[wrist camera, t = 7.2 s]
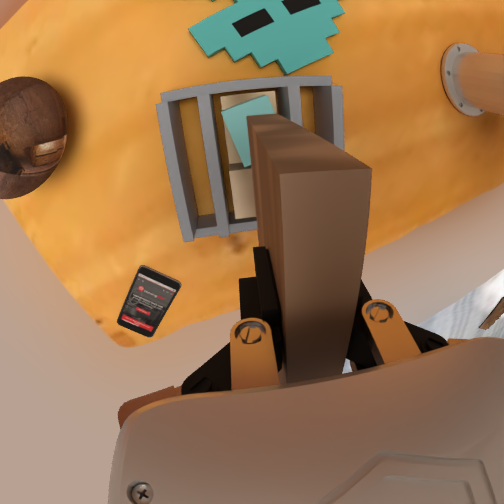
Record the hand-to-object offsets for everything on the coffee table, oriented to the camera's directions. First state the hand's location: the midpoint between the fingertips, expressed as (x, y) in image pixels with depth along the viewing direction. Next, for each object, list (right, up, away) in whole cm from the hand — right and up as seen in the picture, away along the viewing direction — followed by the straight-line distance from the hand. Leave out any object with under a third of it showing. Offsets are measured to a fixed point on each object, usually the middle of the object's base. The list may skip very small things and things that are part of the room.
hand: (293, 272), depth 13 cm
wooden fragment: (+75, -14, +47) cm, 89 cm away
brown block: (-1, +5, +8) cm, 9 cm away
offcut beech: (-2, +10, +25) cm, 27 cm away
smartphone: (-20, -8, +34) cm, 41 cm away
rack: (-2, +14, +23) cm, 26 cm away
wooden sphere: (-31, +18, +17) cm, 40 cm away
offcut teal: (-2, +15, +18) cm, 23 cm away
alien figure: (0, +31, +13) cm, 34 cm away
